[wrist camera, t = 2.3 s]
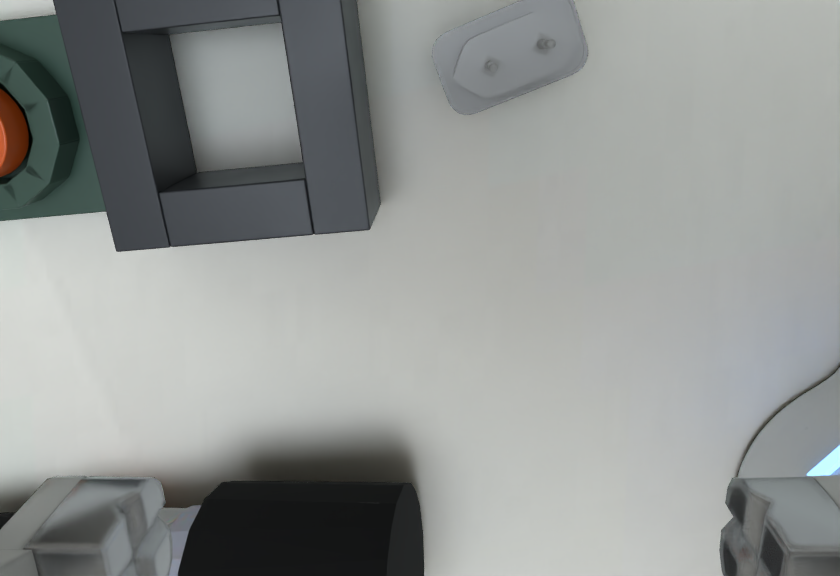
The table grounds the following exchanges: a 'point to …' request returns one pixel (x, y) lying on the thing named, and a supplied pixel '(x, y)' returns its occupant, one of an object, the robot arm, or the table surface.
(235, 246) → the table surface
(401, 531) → the multicoloured piece
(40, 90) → the switch box
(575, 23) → the power adapter
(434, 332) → the table surface
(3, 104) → the power button
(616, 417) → the table surface
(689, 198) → the table surface
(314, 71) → the grey square frame
